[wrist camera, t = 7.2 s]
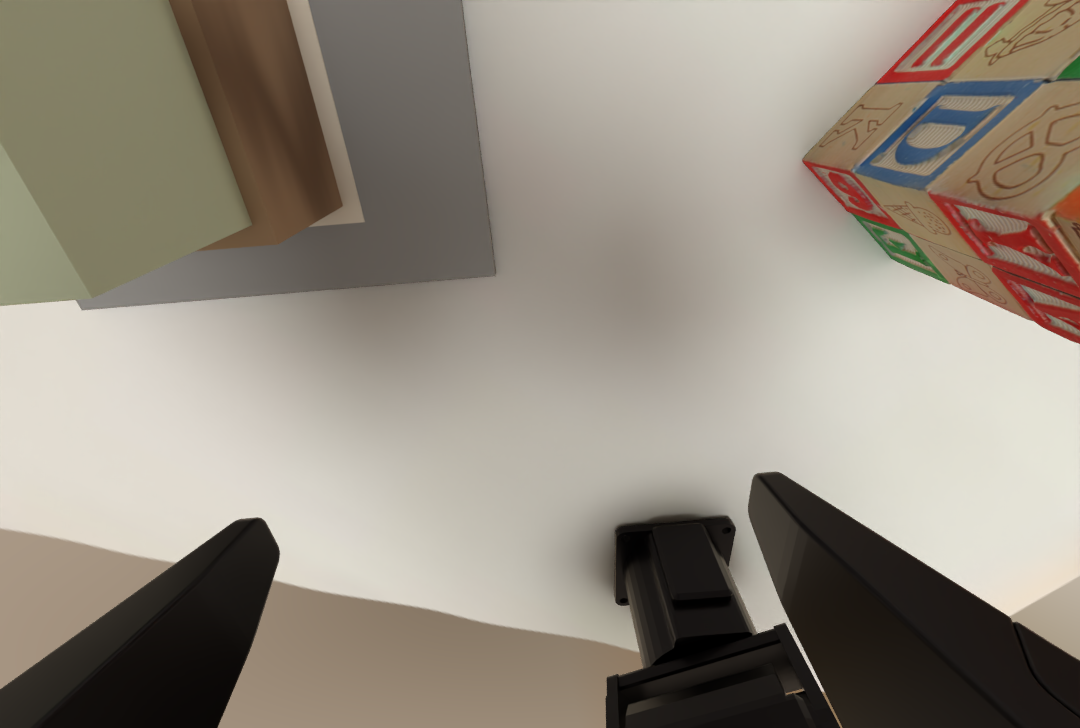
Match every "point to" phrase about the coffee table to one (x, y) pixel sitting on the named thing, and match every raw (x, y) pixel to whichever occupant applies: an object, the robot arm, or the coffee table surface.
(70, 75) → the sage cube
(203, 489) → the coffee table surface
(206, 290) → the mat
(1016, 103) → the stack of blocks
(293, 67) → the walnut base
